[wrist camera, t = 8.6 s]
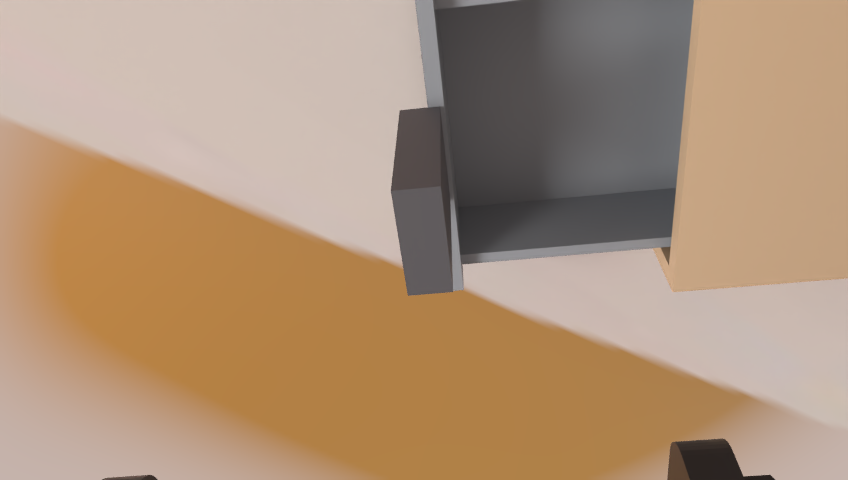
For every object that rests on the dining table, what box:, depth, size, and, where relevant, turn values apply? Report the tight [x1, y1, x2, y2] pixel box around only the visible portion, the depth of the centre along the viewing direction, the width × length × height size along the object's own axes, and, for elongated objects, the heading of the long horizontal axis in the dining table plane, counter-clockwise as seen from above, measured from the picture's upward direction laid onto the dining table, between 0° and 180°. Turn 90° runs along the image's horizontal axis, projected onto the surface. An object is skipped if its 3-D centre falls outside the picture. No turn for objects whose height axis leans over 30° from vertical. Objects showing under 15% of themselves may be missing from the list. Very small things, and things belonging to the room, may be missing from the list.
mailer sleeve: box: [653, 0, 848, 292], centre depth 28 cm, size 13×14×7 cm
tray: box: [391, 0, 694, 295], centre depth 26 cm, size 14×13×11 cm
